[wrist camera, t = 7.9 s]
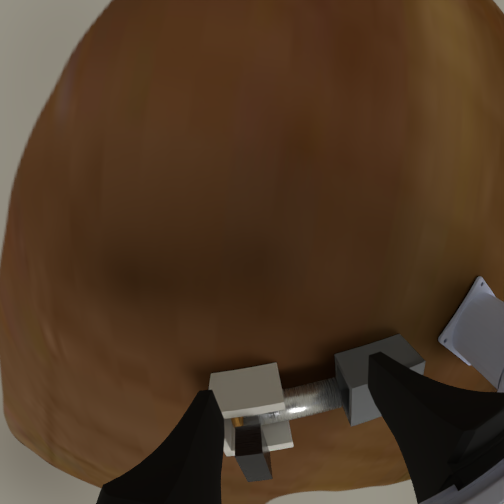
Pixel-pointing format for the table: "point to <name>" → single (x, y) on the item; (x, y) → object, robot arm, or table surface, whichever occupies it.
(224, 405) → the ceramic socket
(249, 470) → the silver cylinder with handle
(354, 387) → the charcoal sleeve
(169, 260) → the table surface
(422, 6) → the table surface
